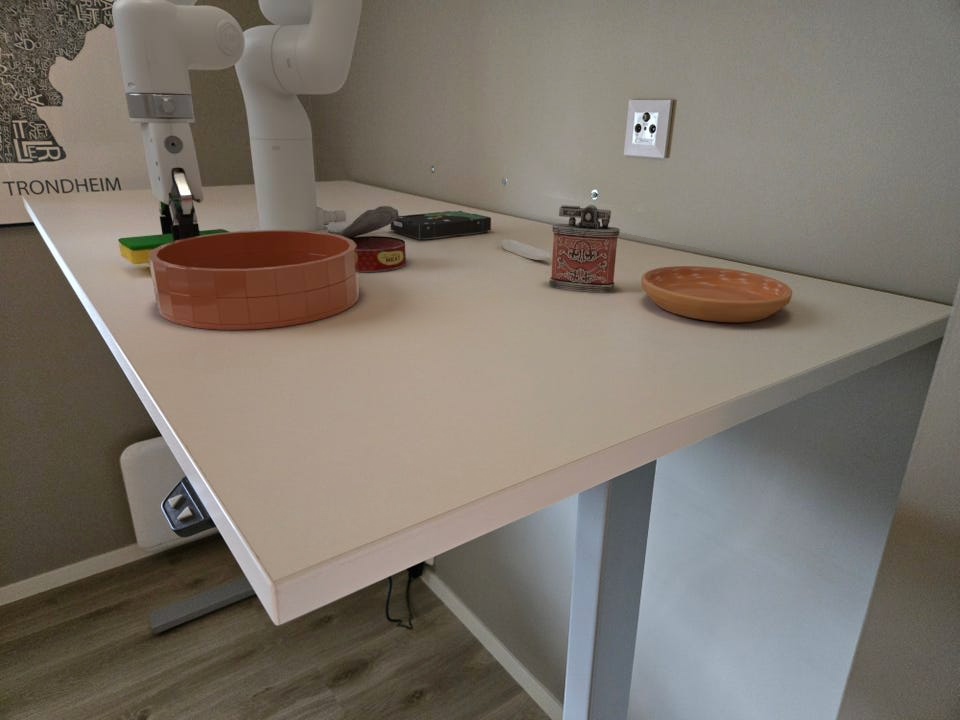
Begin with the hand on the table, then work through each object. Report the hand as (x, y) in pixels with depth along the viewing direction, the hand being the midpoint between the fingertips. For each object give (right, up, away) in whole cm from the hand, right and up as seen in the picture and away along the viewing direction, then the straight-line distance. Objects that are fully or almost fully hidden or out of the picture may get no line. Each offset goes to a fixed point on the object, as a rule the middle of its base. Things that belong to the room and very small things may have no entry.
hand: (182, 248), depth 88 cm
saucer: (+67, -9, -14) cm, 69 cm away
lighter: (+53, -6, -7) cm, 54 cm away
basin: (+16, -8, -14) cm, 23 cm away
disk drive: (+33, +7, +27) cm, 43 cm away
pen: (+47, 0, +9) cm, 48 cm away
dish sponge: (0, -1, 0) cm, 1 cm away
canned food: (+25, -2, +3) cm, 25 cm away
